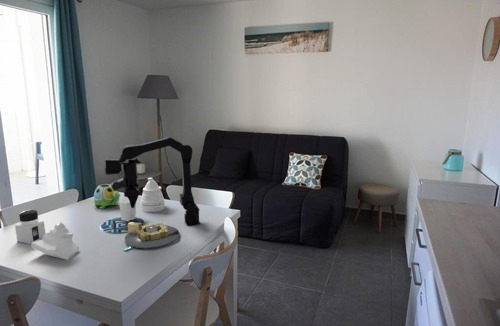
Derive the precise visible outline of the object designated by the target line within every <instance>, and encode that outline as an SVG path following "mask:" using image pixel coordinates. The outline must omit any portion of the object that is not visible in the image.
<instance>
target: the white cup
mask: <svg viewBox="0 0 500 326" xmlns="http://www.w3.org/2000/svg"><path fill="white" fill-rule="evenodd" d="M136 204H137V203H136ZM136 204H135V207H134V208H131V205H130V202H129V199H128V198H122V199H119V202H118V205H119V212H120V216H121V217H120V218H121V221H122V220H132V219H135V220H136V218H137V217H136V214H137V212H136V211H137V210H136V209H137V206H136Z"/></svg>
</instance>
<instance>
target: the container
mask: <svg viewBox="0 0 500 326" xmlns="http://www.w3.org/2000/svg"><path fill="white" fill-rule="evenodd" d="M18 216H19V217H18V218H19V223H17V224H15V226H14V228H15V235H16V241H17V242H18V241H19V243H22V242H24V243H23V244H27V243H29V244H28V245H32V242H35V241H39V240H42V238H43V236H44V235H45V234H46V228H45V221H44V220H39V215H38V211H37V210H35V209H27V210H24V211H21V212H20V213H19V214H18Z"/></svg>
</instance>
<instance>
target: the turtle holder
mask: <svg viewBox="0 0 500 326" xmlns="http://www.w3.org/2000/svg"><path fill="white" fill-rule="evenodd" d="M120 197H121V194H120V192H118V190H116V191H114V190H113V189H112V186H111V184H108V183H105V184H100V185H98V186H97V187H96V188H95V190H94V193H93V203H94V206H95V207H99V206H100V207H99V209H101V210H104V209H105V208H106V207H107V206H117V205H119V201H120Z"/></svg>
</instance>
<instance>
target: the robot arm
mask: <svg viewBox="0 0 500 326" xmlns="http://www.w3.org/2000/svg"><path fill="white" fill-rule="evenodd" d="M167 147H171V148H172V149H173V150H175V151H177V152H178V155H179V158H180V162H181V172H182V173H181V175H182V193H179V203H180V205H181V206H182V207H183V209H184V210H185V213H184V214H183V215H184V223H185V224H186V226H187V227H188V226H195V225H200V224H201V223H200V208H199V207H198V205H197V203H195V199H194V198H195V197H194V195H193V191H192V174H191V171H192V170H191V162H192V158H193V148H192V147H191V145H189V144H188V143H185V142H184V143H182V142H180V141H178V140H176V139H174V138H173V137H171V136H166V137H164V138H161V139H156V140H153V141H150V142H149V141H148V142H145V143H139V144H136V143H135V144H127V145H125V146H124V147H123V148H122V151H121V155H120V156H119V157H118V159H107V158H106V159H105V168H104V169H105V171H104V172H105V175H107V176H108V175H120V173H121V172H123V178H119V179H117V180H115V181H112V182H111V183H110V185H111V186H112V189H113V190H114V191H118V190H119V189H122V188H123V189H124V190H123V194H124V195H123V196H124V197H125V198H126V199H129V202H130V205H131V208H134V207H135V204H137V200H138V199H139V196H140V188H139V181H138V168H137V166H138V165H137V164H141V163H142V162H141V160H140V159H139V158H138V157H139V156H141V155H142V154H145V153H148V152H152V151H156V150H159V149H163V148H167ZM127 160H128V161H127ZM122 167H123V168H122Z"/></svg>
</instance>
